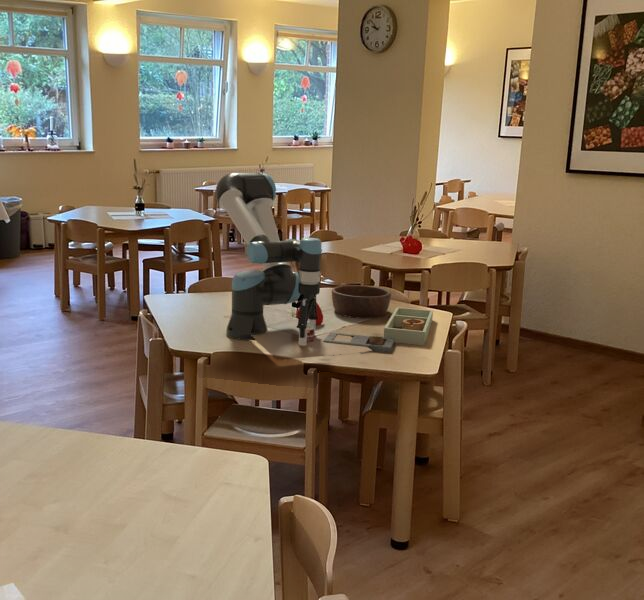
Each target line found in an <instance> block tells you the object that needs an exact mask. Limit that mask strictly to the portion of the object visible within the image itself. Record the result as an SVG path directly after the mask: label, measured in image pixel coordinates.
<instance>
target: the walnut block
mask: <svg viewBox="0 0 644 600" xmlns="http://www.w3.org/2000/svg"><path fill="white" fill-rule="evenodd" d="M369 336H370V343H369V344H372V345H382V346H383V345H384V344H383V338H384V333H377V332H370V333H369Z"/></svg>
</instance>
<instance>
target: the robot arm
mask: <svg viewBox="0 0 644 600" xmlns="http://www.w3.org/2000/svg"><path fill="white" fill-rule="evenodd" d="M276 196H277V186H276V184H275V181H274V179H273V178H272V176H271V175H269V174H267V173H261V172H255V173H253V172H249V173H248V172H230V173H228V174H225V175H223V176H222V177H221V178H220V179H219V180H218V182H217V184H216V187H215V199H216V202H217V203H218V205H219V207H220V208H221V209H222V210H224V211H226V213H227V215H228V216H229V218H230V220H231V221H232V222H233V224H234V226H235V228H236V229H237V231H238V232H239V234H240V235H241V237H242V238H243V241H244V242H245V244H246V245H247V246H246V250H245V252H246V253H245V254H246V258H247V260H248V262H250V263H251V264H260V265H261V264H262V267H263V269H262V270H258V269H257V270H256V269H254V270H243V271H239V272H237V273H236V274H235V275H233V277H232V282H231V315H230V318H229V320H228V324H227V325H226V332H225V335H226V336H227V337H228V338H231V339H235V340H236V339H237V340H246V341H249V340H250V341H251V340H252V341H253V340H256V339H255V337H254V336H258V335H262V334H266V333H267V332H268V330H269V329H268V326H267V323H266V319H265V315H264V308H265V307H266V306H276V305H287V304H293V303H295V302H297V301H298V299H299V298H300V296H301V295H303V298H301V299H300V306H299V308H300V313H299V320H298V319H297V325H296V328H297V329H298V346H301V347H302V346H303V347H305V346H307V344H308V342H307V322H308V320H310V321H313V327H314V337H315V336H316V326H317V325H316V320H315V319H317V320H318V317H317V303H318V302H317V295H319V294H320V292H321V291H320V288H321V283H320V281H321V277H322V276H323V275H322V273H321V270H322V269H321V268H322V265H321V264H322V252H323V249H322V240H321V239H320V238H316V237H302V238H300V240H298V239H296V238H295V239H294V238H287V239H285V240H280V237H279V233H278V229H277V226H276V222H275V218H274V214H273V210H272V207H273V206H274V201H275V199H276ZM288 262H292V263H293V262H295V263H298V265H299V266H298V272H297V271H293V270H292V269H293V268H292V266H291V265H290V264H289V263H288ZM308 317H309V319H308ZM302 324H303V325H302Z"/></svg>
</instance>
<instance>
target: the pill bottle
mask: <svg viewBox="0 0 644 600" xmlns="http://www.w3.org/2000/svg"><path fill="white" fill-rule="evenodd" d="M302 325H303V324H302ZM314 338H315V336H314V327H313V321H310V320H308V322H307V343H310V342H311V343H312V342H314Z"/></svg>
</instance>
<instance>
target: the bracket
mask: <svg viewBox="0 0 644 600" xmlns="http://www.w3.org/2000/svg"><path fill="white" fill-rule="evenodd" d="M424 323H425V322H424V321H423V320H420V319H415V321H411V319H405V320H403V327H402V329H406V330H416V331H423V329H424Z"/></svg>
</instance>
